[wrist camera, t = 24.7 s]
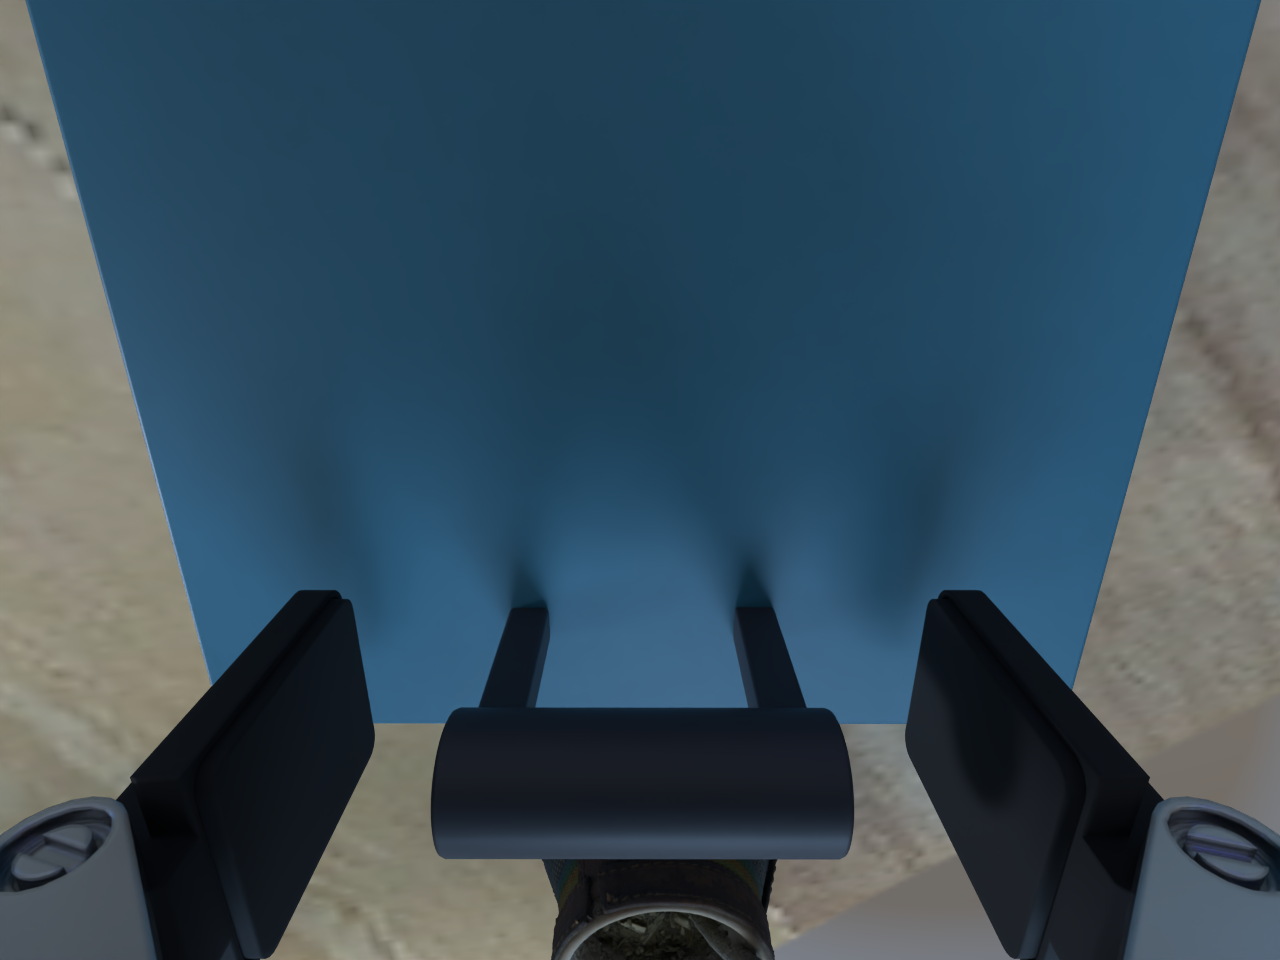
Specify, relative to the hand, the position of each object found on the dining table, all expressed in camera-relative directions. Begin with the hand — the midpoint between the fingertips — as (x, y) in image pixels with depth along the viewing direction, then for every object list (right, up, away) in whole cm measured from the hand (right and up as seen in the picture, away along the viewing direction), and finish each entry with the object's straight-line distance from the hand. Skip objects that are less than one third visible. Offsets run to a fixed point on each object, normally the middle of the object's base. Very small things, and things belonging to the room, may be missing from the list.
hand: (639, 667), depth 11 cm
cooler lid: (0, +6, 0) cm, 6 cm away
